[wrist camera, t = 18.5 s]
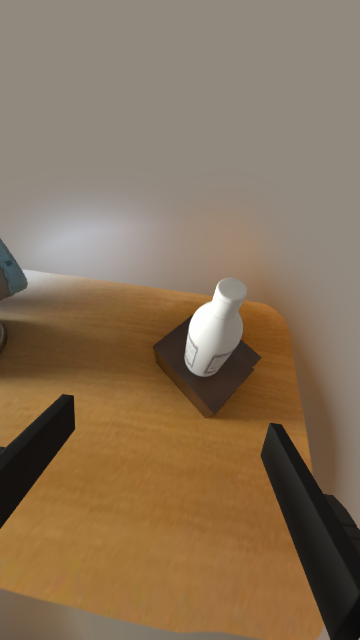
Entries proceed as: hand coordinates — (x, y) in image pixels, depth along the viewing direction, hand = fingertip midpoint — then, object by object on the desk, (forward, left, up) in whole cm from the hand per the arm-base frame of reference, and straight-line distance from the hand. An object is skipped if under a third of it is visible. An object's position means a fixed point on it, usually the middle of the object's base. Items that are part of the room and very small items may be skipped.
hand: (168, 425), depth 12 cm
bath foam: (-4, +12, -19) cm, 23 cm away
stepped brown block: (-5, +15, -29) cm, 33 cm away
